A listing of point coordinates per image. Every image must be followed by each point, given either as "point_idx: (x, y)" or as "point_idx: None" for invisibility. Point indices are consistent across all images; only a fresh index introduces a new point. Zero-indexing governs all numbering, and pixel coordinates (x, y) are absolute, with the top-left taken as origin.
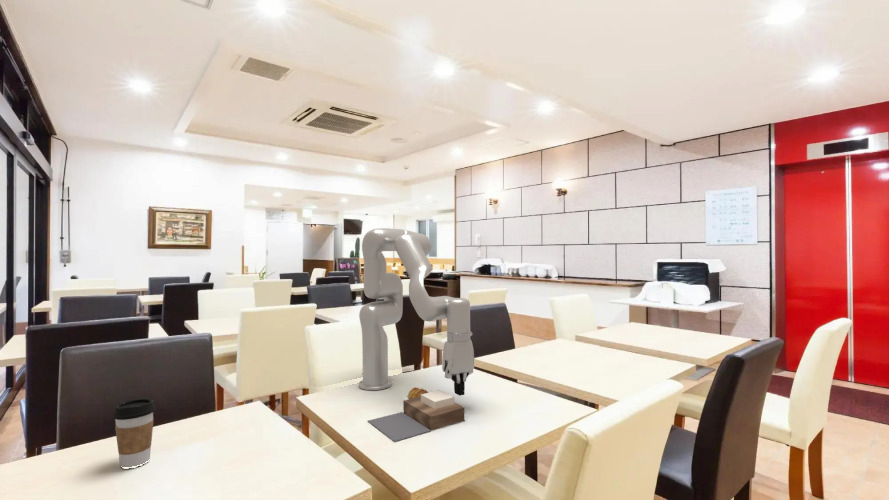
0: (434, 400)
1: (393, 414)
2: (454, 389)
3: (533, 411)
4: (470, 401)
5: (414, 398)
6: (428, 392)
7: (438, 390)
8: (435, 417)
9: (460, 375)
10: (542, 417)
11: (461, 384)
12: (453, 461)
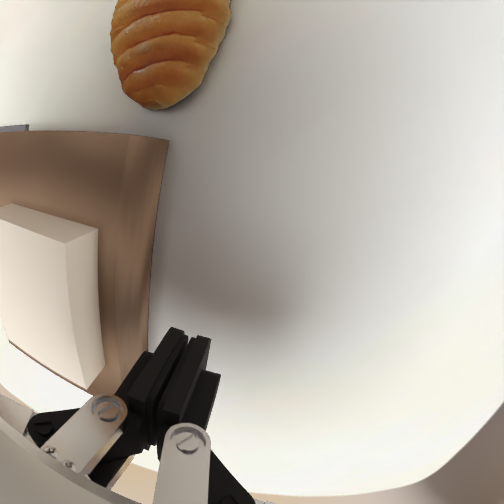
0: (7, 328)
1: (6, 129)
2: (139, 360)
3: (373, 457)
4: (367, 270)
5: (13, 140)
6: (194, 27)
7: (58, 245)
8: None
9: (176, 475)
10: (340, 477)
11: (150, 441)
12: (44, 408)
